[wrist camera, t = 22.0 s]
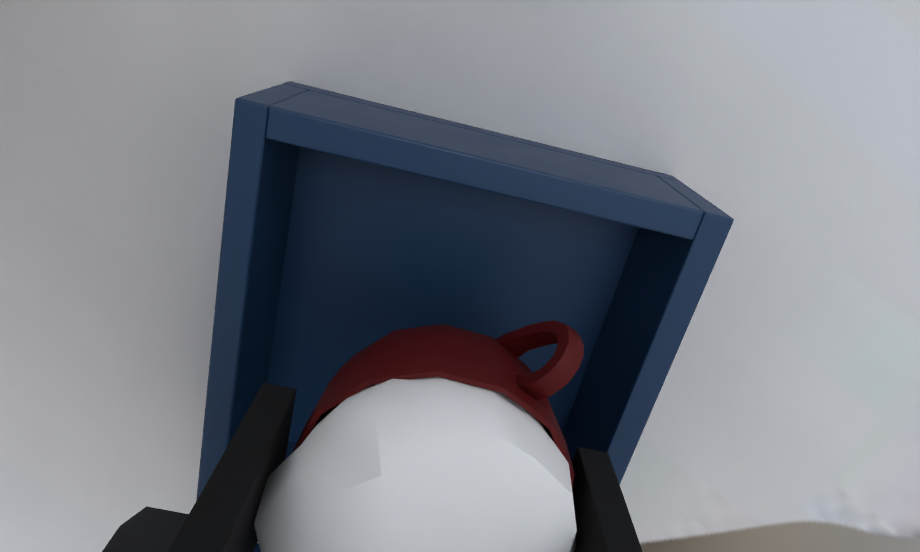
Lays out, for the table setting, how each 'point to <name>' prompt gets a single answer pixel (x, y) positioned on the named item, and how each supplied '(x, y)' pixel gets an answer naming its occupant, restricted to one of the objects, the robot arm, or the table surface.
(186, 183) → the table surface
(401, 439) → the cocoa
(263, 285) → the box
